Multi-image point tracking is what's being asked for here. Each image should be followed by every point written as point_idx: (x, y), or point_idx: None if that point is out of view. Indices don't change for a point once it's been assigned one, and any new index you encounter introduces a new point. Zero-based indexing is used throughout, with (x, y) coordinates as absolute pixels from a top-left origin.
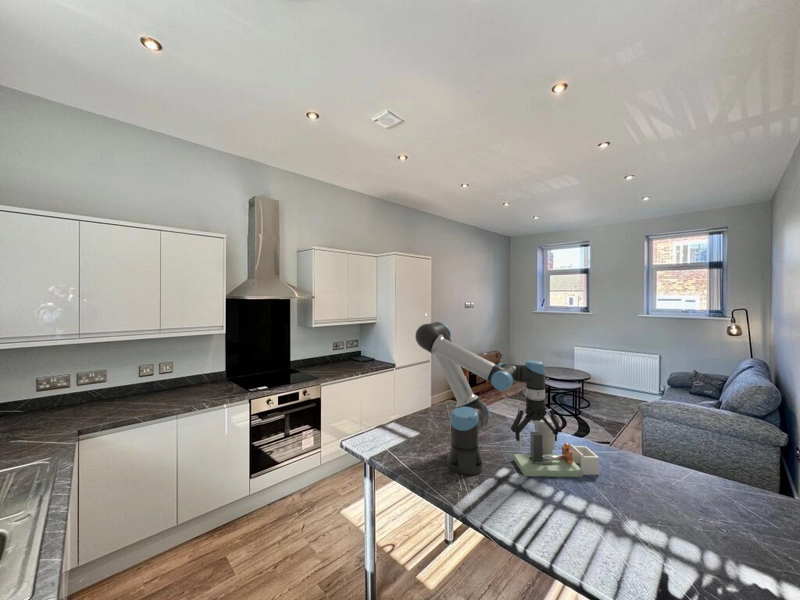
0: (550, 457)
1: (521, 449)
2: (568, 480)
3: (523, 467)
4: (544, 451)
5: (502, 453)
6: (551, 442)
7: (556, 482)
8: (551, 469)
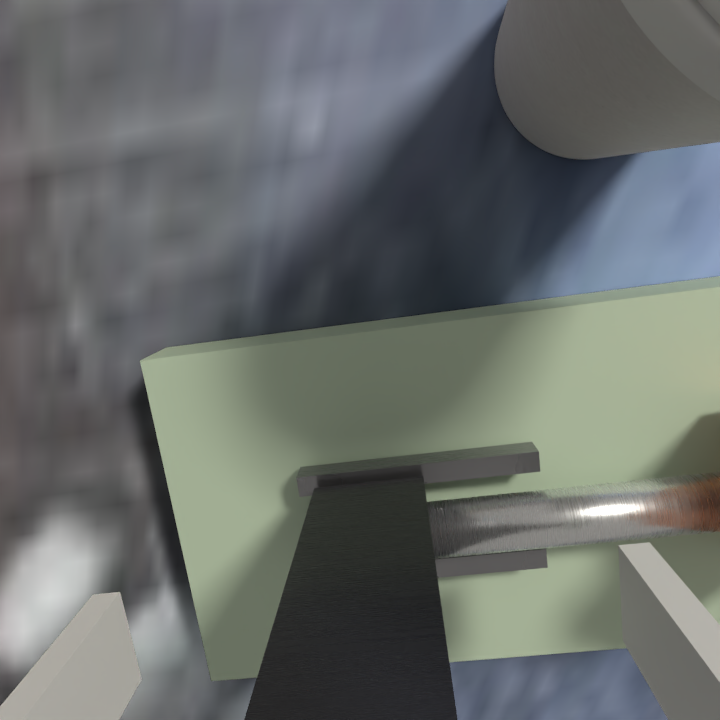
0: (550, 545)
1: (136, 681)
2: (610, 659)
3: (211, 636)
4: (571, 152)
5: (45, 210)
6: (667, 657)
7: (488, 698)
8: (493, 643)
